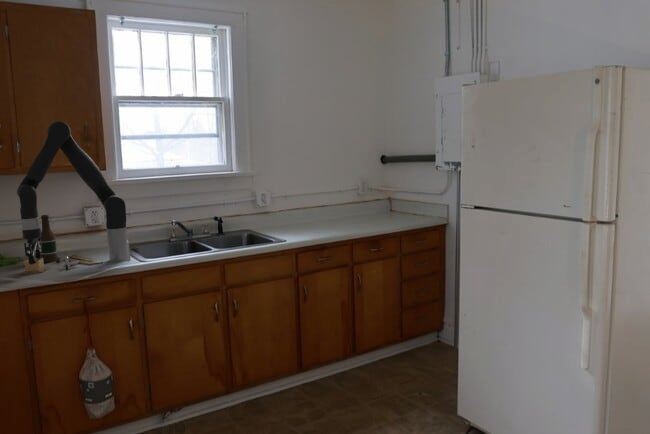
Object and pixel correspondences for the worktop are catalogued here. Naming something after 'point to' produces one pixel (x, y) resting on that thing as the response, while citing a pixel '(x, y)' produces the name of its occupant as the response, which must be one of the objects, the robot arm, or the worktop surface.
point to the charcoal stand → (67, 265)
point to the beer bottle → (48, 242)
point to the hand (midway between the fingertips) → (35, 262)
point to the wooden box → (36, 271)
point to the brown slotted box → (34, 265)
